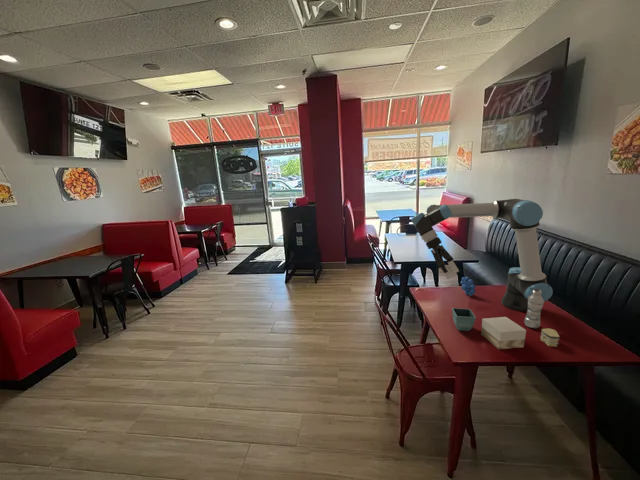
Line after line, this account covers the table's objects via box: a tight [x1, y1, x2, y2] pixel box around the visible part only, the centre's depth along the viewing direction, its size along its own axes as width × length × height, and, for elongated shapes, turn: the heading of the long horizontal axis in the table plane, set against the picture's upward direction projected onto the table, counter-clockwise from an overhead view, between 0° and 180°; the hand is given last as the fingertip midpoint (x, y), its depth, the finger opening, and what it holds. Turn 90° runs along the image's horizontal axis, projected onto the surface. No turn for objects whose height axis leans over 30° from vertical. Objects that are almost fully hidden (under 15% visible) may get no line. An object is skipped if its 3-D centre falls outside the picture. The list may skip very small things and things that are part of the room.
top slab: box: [481, 316, 527, 341], centre depth 125 cm, size 12×12×4 cm
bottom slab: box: [480, 327, 526, 350], centre depth 126 cm, size 12×12×4 cm
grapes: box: [460, 276, 476, 297], centre depth 173 cm, size 12×7×12 cm, turn 16°
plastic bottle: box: [523, 289, 545, 329], centre depth 134 cm, size 6×7×20 cm
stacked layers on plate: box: [539, 328, 561, 348], centre depth 123 cm, size 10×9×6 cm
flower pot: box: [451, 307, 476, 332], centre depth 136 cm, size 9×9×9 cm
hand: (453, 275), depth 139 cm, fingers open, 13 cm apart
